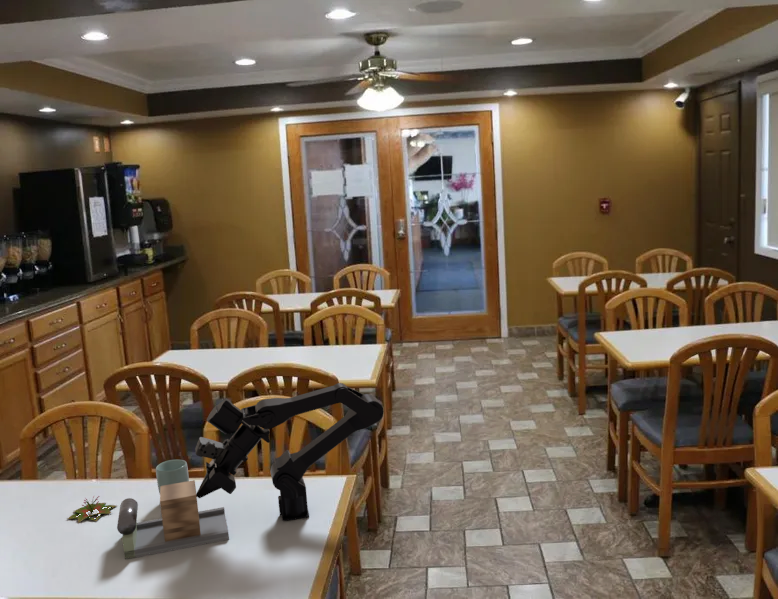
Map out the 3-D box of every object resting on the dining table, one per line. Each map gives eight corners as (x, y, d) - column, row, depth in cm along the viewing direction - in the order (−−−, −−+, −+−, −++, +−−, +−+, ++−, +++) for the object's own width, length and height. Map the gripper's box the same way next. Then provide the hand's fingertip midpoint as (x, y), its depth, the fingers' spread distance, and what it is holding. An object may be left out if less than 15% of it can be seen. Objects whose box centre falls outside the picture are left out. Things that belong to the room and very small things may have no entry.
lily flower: (87, 503, 199) (85, 487, 198) (126, 505, 196) (124, 488, 195) (57, 524, 187) (54, 507, 186) (98, 526, 184) (95, 509, 183)
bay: (224, 513, 186) (221, 479, 184) (229, 539, 173) (225, 503, 171) (124, 532, 179) (119, 497, 178) (120, 560, 166) (115, 522, 165)
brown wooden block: (199, 518, 182) (194, 480, 180) (200, 535, 173) (196, 495, 171) (165, 524, 180) (160, 485, 178) (165, 542, 171) (160, 501, 169)
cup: (182, 508, 191) (178, 471, 189) (154, 507, 192) (150, 470, 190) (196, 494, 198) (191, 459, 196) (169, 494, 200) (164, 459, 198)
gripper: (211, 414, 183) (169, 463, 182) (216, 439, 166) (170, 494, 165) (246, 439, 187) (206, 488, 186) (254, 466, 169) (210, 520, 168)
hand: (197, 496), depth 176 cm, fingers closed, pressing on brown wooden block
